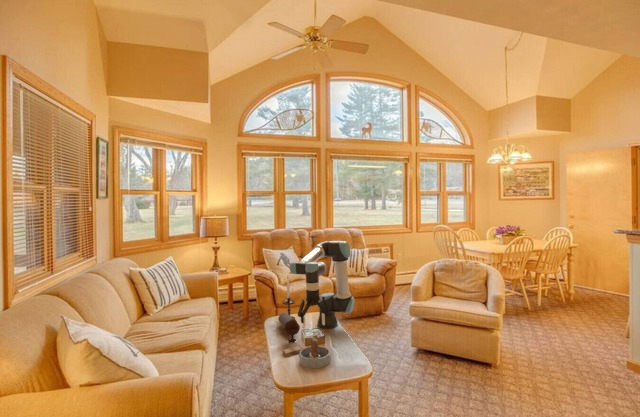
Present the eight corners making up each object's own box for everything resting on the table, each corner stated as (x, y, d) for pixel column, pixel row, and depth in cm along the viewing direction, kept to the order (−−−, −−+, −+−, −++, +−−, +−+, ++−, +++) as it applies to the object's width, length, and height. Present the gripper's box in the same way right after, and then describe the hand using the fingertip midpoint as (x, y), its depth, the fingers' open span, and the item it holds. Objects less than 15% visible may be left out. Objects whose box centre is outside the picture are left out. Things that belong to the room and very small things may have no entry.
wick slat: (315, 357, 199) (314, 337, 199) (318, 361, 194) (318, 340, 194) (311, 358, 198) (310, 338, 198) (314, 362, 193) (313, 341, 193)
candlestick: (294, 322, 261) (292, 277, 260) (280, 321, 263) (279, 276, 262) (297, 317, 272) (296, 274, 271) (284, 316, 274) (283, 273, 273)
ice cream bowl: (301, 337, 230) (300, 315, 230) (298, 344, 219) (298, 321, 219) (286, 337, 231) (285, 315, 231) (282, 344, 220) (282, 321, 220)
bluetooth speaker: (277, 325, 254) (277, 312, 254) (289, 324, 257) (289, 311, 257) (285, 336, 233) (285, 322, 232) (298, 334, 236) (297, 320, 236)
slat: (300, 349, 213) (300, 345, 213) (303, 352, 208) (303, 348, 208) (282, 354, 207) (282, 350, 207) (285, 357, 203) (285, 353, 203)
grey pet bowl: (322, 351, 208) (322, 343, 208) (335, 363, 191) (334, 355, 191) (295, 357, 201) (295, 349, 201) (306, 370, 185) (305, 361, 185)
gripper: (328, 285, 203) (329, 320, 204) (291, 290, 194) (292, 327, 195) (333, 287, 196) (335, 324, 197) (295, 293, 187) (296, 332, 188)
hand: (313, 326), depth 196 cm, fingers open, 11 cm apart
